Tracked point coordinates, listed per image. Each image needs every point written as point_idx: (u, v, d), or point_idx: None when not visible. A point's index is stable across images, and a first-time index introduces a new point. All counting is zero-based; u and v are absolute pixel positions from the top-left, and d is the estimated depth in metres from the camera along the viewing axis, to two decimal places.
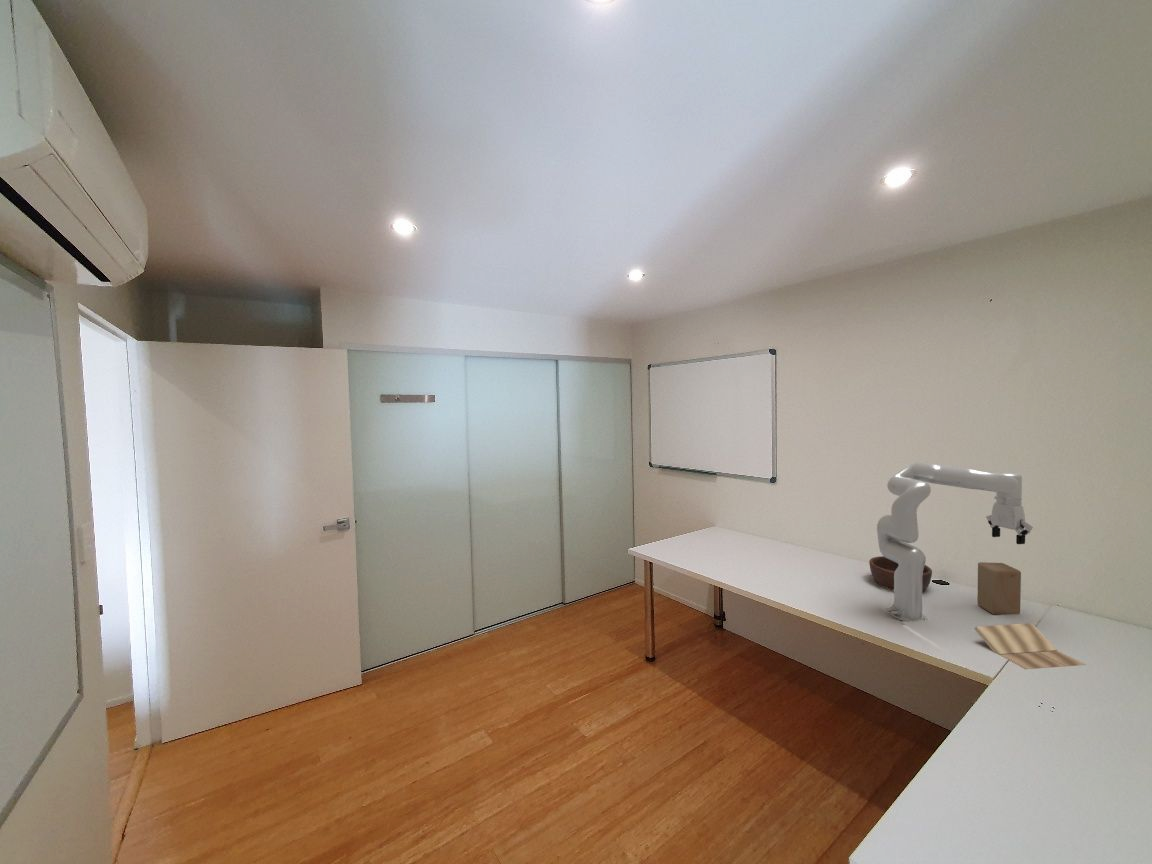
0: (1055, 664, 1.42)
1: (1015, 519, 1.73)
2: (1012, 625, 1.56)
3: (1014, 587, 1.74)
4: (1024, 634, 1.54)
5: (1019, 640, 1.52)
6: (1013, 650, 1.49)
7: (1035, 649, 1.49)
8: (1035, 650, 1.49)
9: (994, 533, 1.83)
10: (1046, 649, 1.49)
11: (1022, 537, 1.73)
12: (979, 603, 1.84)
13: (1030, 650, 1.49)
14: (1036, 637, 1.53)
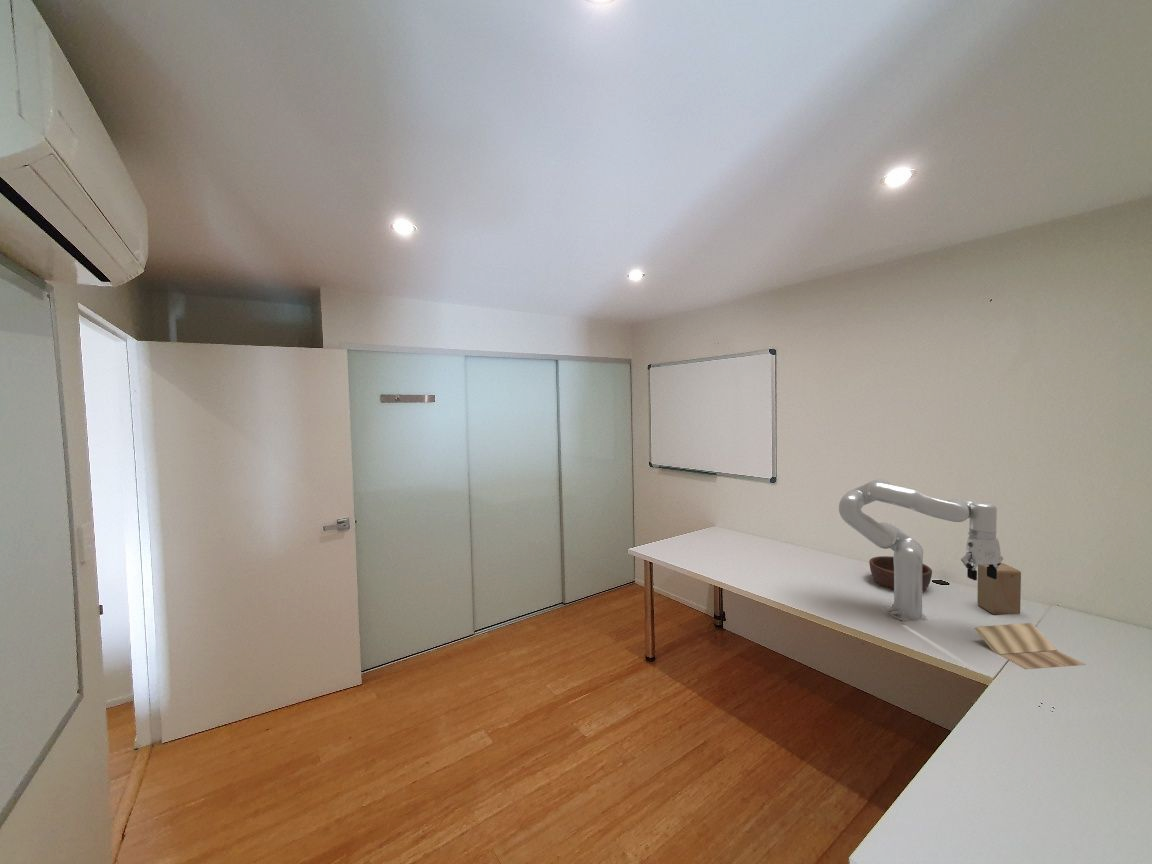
0: (1055, 664, 1.42)
1: None
2: (1012, 625, 1.56)
3: (1014, 587, 1.74)
4: (1024, 634, 1.54)
5: (1019, 640, 1.52)
6: (1013, 650, 1.49)
7: (1035, 649, 1.49)
8: (1035, 650, 1.49)
9: None
10: (1046, 649, 1.49)
11: None
12: (979, 603, 1.84)
13: (1030, 650, 1.49)
14: (1036, 637, 1.53)
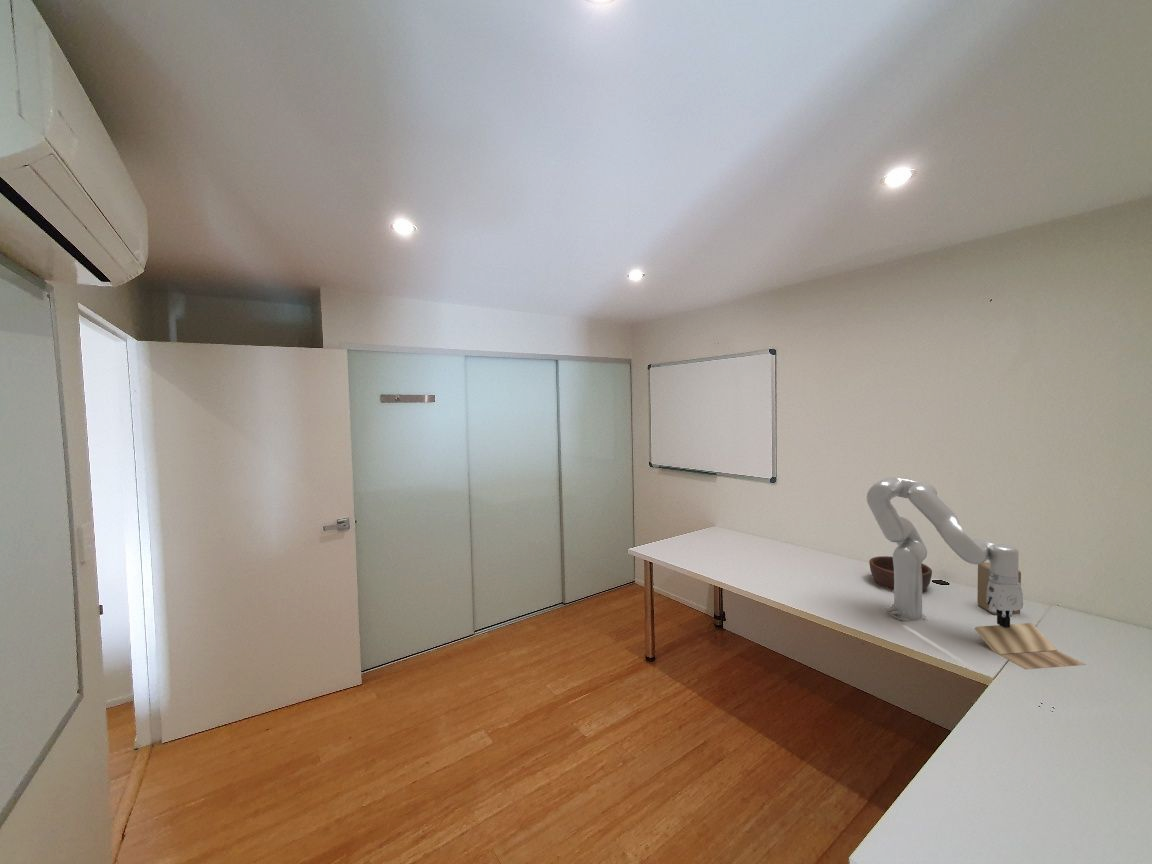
0: (1055, 664, 1.42)
1: (1022, 597, 1.53)
2: (1012, 625, 1.56)
3: None
4: (1024, 634, 1.54)
5: (1019, 640, 1.52)
6: (1013, 650, 1.49)
7: (1035, 649, 1.49)
8: (1035, 650, 1.49)
9: None
10: (1046, 649, 1.49)
11: None
12: (979, 603, 1.84)
13: (1030, 650, 1.49)
14: (1036, 637, 1.53)
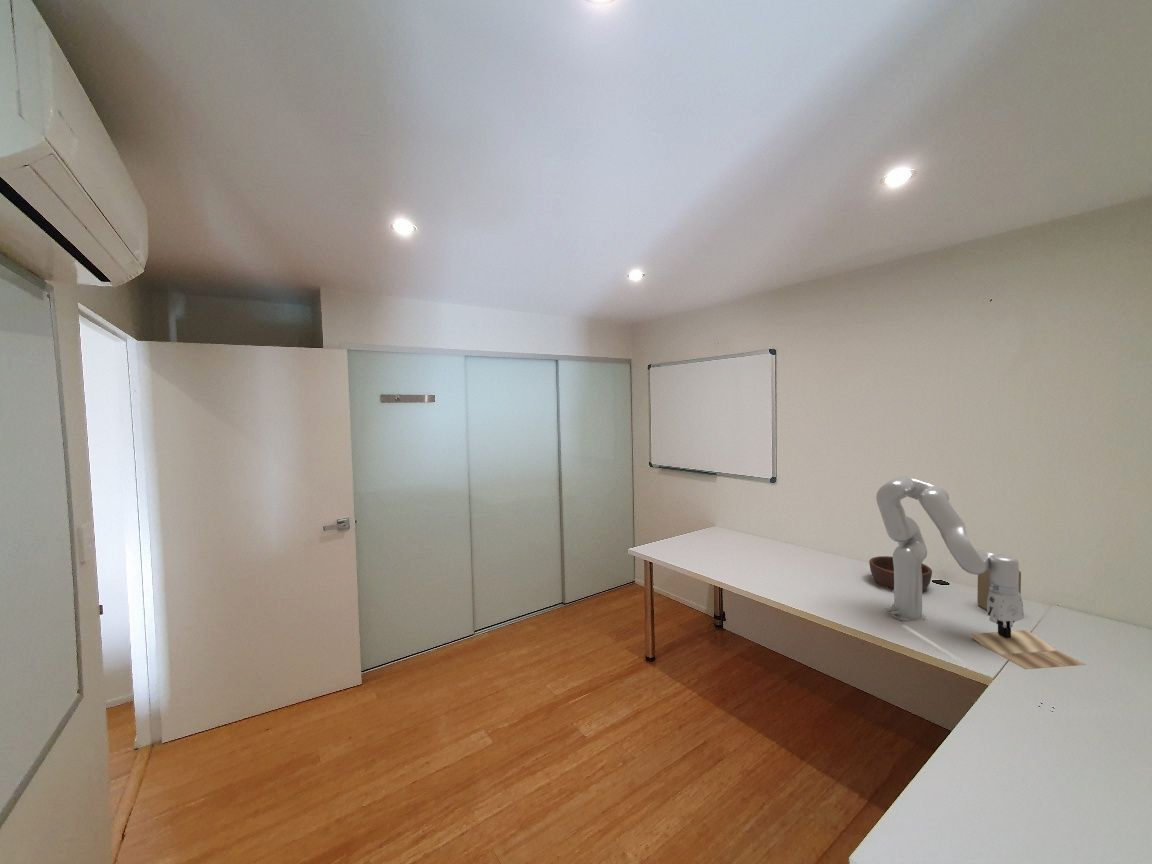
0: (1055, 664, 1.42)
1: None
2: None
3: None
4: (1021, 638, 1.55)
5: (1017, 643, 1.53)
6: (1012, 651, 1.49)
7: (1034, 650, 1.50)
8: (1035, 650, 1.49)
9: None
10: (1046, 649, 1.49)
11: None
12: (979, 603, 1.84)
13: (1030, 651, 1.49)
14: (1034, 641, 1.53)
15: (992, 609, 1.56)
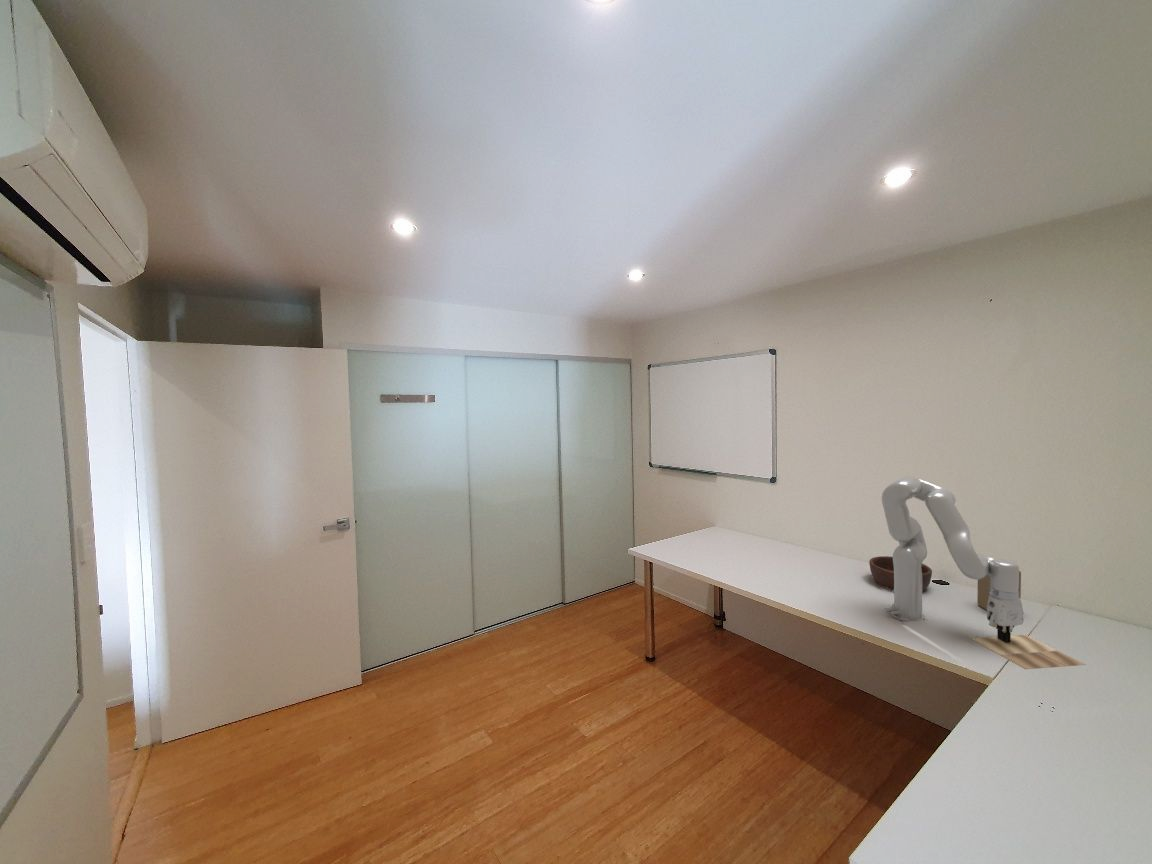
0: (1055, 664, 1.42)
1: (1022, 612, 1.53)
2: None
3: None
4: (1020, 641, 1.55)
5: (1017, 645, 1.53)
6: (1012, 651, 1.49)
7: (1034, 650, 1.50)
8: (1035, 651, 1.49)
9: None
10: (1046, 650, 1.49)
11: None
12: (979, 603, 1.84)
13: (1030, 651, 1.49)
14: (1033, 643, 1.54)
15: (992, 614, 1.56)
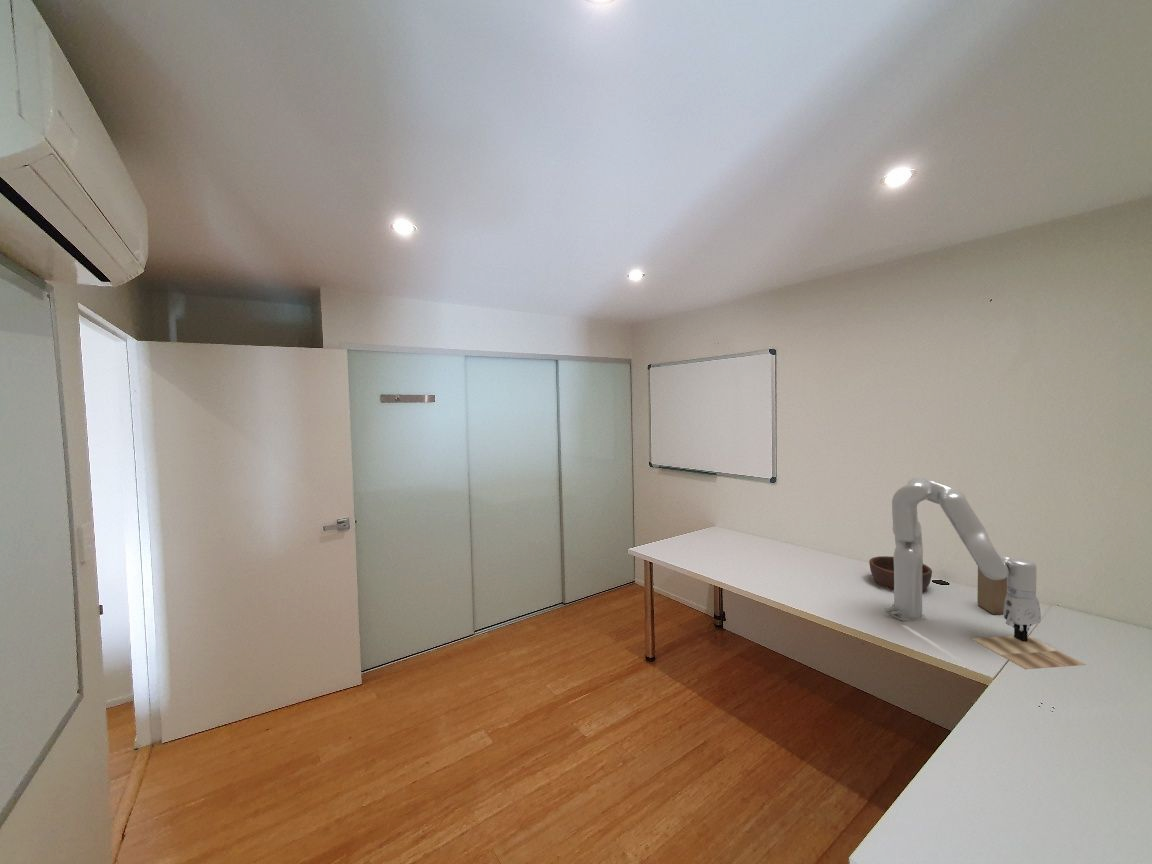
0: (1055, 664, 1.42)
1: None
2: (1006, 636, 1.58)
3: None
4: (1020, 641, 1.55)
5: (1017, 645, 1.53)
6: (1012, 651, 1.49)
7: (1034, 650, 1.50)
8: (1035, 651, 1.49)
9: None
10: (1046, 650, 1.50)
11: None
12: (979, 603, 1.84)
13: (1030, 651, 1.49)
14: (1033, 643, 1.54)
15: (1009, 612, 1.56)
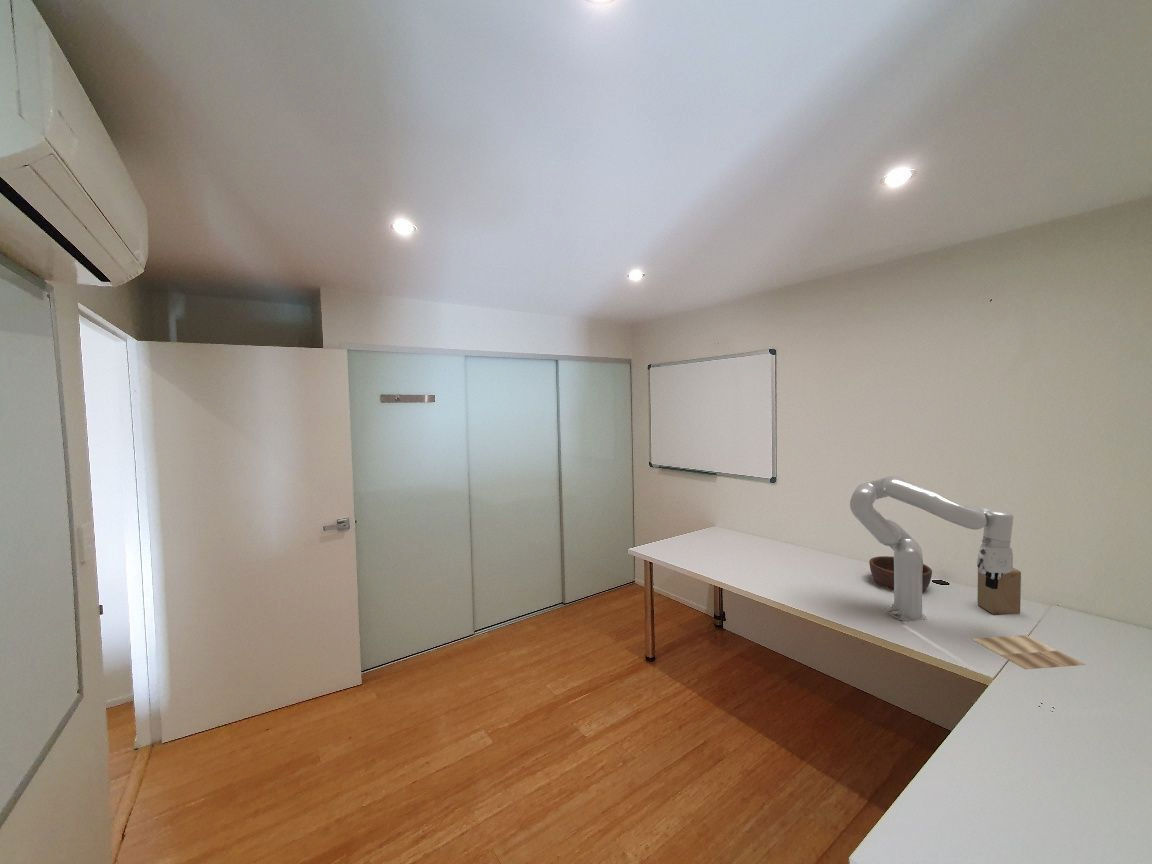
0: (1055, 664, 1.42)
1: (1012, 560, 1.58)
2: (1006, 637, 1.58)
3: (1014, 587, 1.74)
4: (1020, 642, 1.55)
5: (1017, 645, 1.53)
6: (1012, 651, 1.49)
7: (1034, 650, 1.50)
8: (1035, 651, 1.49)
9: None
10: (1046, 650, 1.50)
11: None
12: (979, 603, 1.84)
13: (1030, 651, 1.49)
14: (1033, 643, 1.54)
15: (982, 561, 1.61)
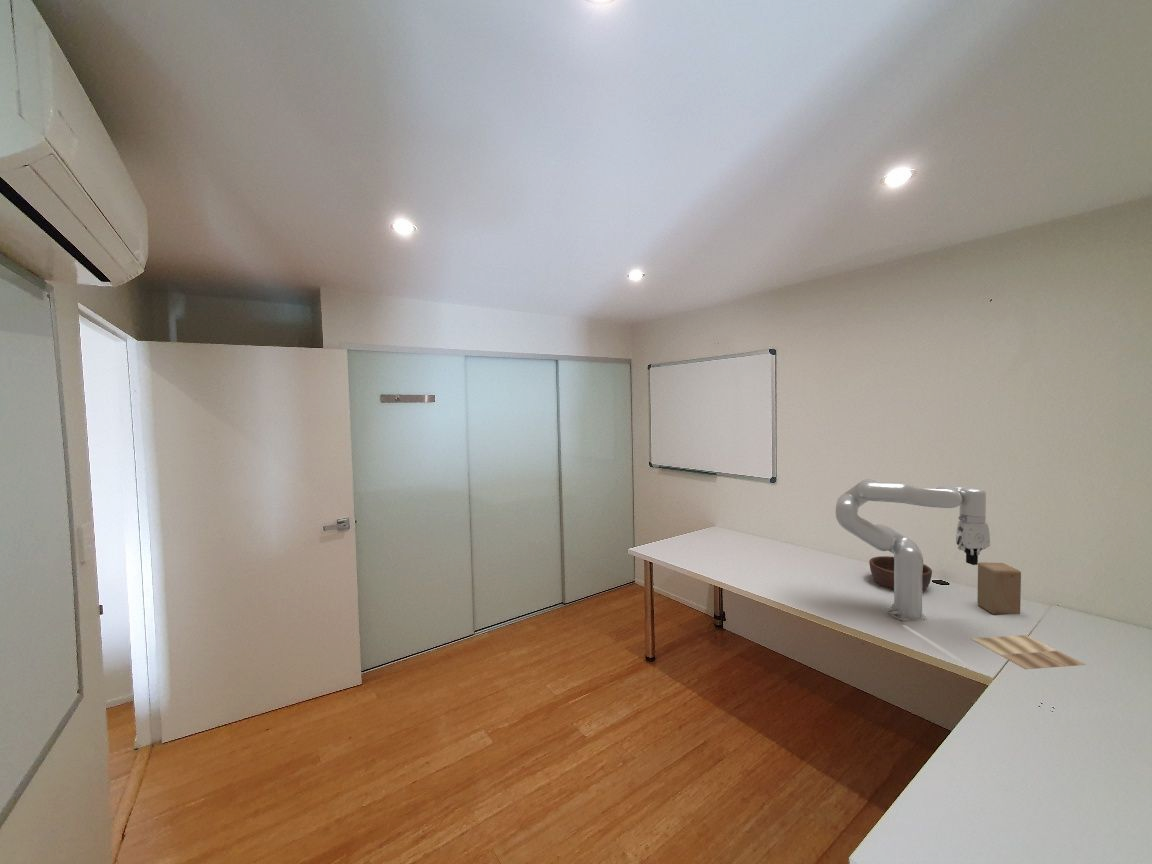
0: (1055, 664, 1.42)
1: (989, 536, 1.63)
2: (1006, 637, 1.58)
3: (1014, 587, 1.74)
4: (1020, 642, 1.55)
5: (1017, 645, 1.53)
6: (1012, 651, 1.49)
7: (1034, 650, 1.50)
8: (1035, 651, 1.49)
9: None
10: (1046, 650, 1.50)
11: None
12: (979, 603, 1.84)
13: (1030, 651, 1.49)
14: (1033, 643, 1.54)
15: (961, 538, 1.65)
